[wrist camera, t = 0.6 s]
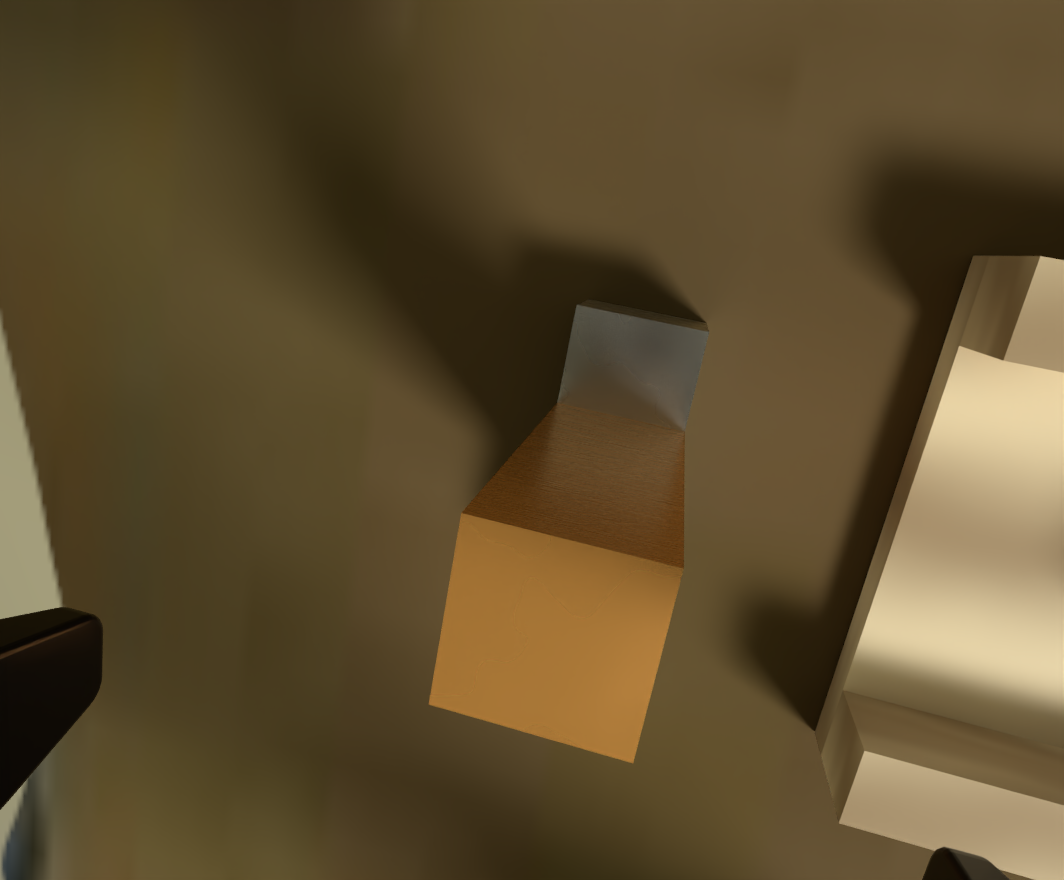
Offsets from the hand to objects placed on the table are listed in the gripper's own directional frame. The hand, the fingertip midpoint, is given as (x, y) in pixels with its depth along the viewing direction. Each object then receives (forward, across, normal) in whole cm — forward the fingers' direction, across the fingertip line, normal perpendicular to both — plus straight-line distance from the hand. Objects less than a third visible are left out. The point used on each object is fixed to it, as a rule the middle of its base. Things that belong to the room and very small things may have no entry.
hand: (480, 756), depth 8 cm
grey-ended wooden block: (+13, 0, 0) cm, 13 cm away
